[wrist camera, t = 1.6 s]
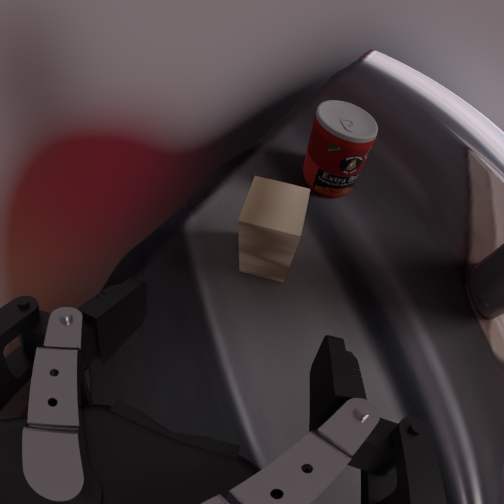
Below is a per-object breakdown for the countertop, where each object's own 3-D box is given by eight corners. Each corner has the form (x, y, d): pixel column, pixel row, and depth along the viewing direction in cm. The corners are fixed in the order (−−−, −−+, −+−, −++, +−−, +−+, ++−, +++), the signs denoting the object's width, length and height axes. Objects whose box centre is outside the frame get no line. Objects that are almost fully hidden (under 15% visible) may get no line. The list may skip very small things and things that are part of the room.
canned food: (310, 202, 35) (331, 138, 25) (295, 159, 38) (307, 98, 29) (360, 197, 36) (390, 140, 26) (341, 158, 39) (360, 101, 29)
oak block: (292, 244, 32) (310, 189, 23) (283, 282, 30) (300, 236, 21) (251, 233, 32) (254, 175, 23) (239, 271, 30) (238, 220, 21)
